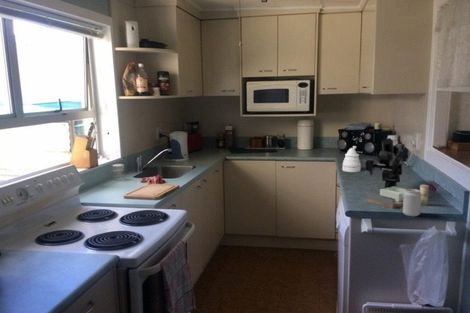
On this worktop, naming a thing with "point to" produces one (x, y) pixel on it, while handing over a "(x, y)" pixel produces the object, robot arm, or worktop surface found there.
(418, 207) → the can
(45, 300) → the worktop surface
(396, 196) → the block
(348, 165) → the honey pot
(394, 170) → the robot arm
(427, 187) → the dowel
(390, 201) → the board
